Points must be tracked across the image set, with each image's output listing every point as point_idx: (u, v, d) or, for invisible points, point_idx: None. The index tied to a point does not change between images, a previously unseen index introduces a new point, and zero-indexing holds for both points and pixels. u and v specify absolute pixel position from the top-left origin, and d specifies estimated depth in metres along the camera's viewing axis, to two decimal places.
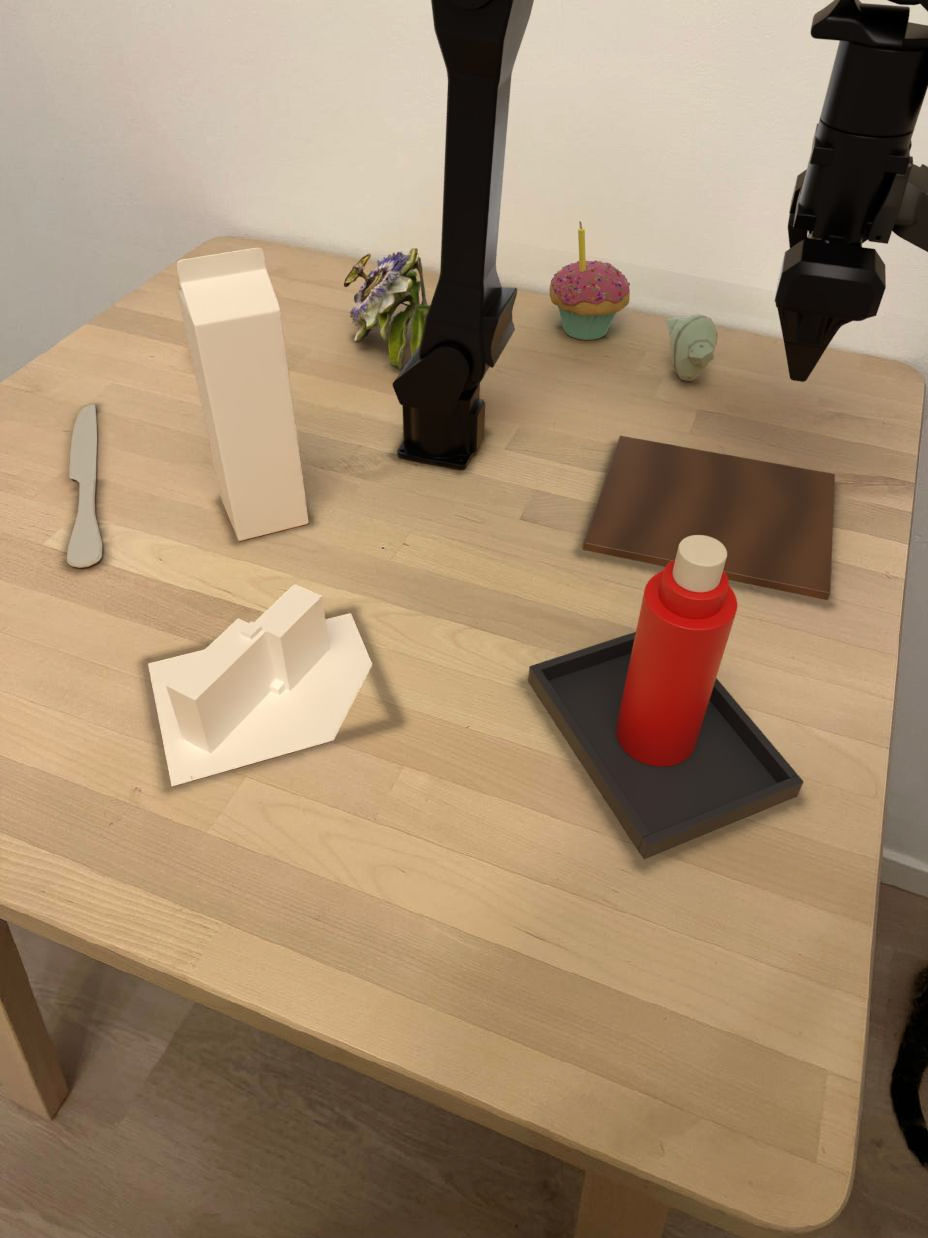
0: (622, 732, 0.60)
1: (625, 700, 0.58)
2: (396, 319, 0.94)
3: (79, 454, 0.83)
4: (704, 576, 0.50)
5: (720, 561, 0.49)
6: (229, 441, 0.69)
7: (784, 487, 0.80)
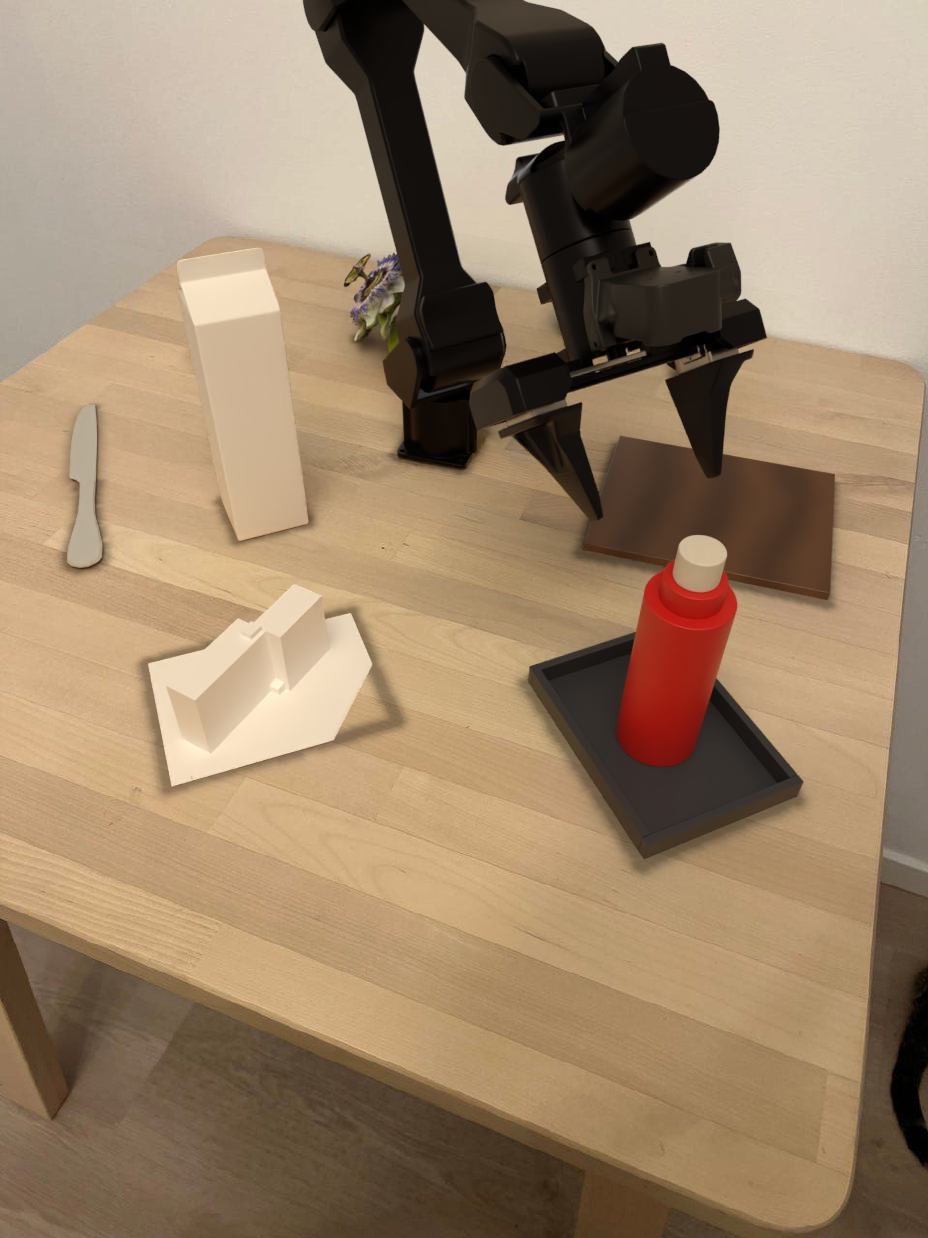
0: (622, 732, 0.60)
1: (625, 700, 0.58)
2: None
3: (79, 454, 0.83)
4: (704, 576, 0.50)
5: (720, 561, 0.49)
6: (229, 441, 0.69)
7: (784, 487, 0.80)
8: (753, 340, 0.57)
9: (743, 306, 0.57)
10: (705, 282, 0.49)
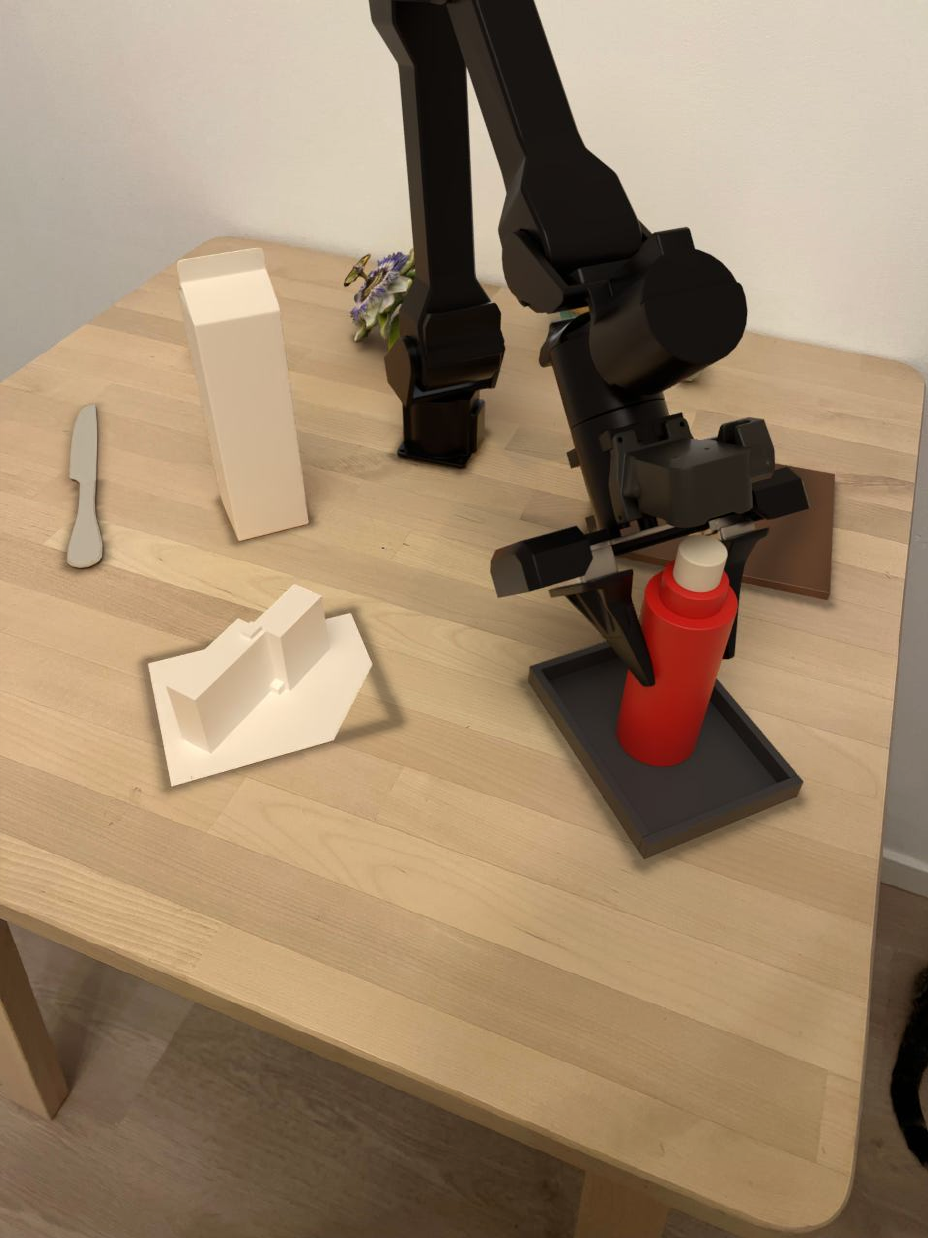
0: (622, 732, 0.60)
1: (625, 700, 0.58)
2: (396, 319, 0.94)
3: (79, 454, 0.83)
4: (704, 576, 0.50)
5: (720, 561, 0.49)
6: (229, 441, 0.69)
7: None
8: (794, 511, 0.54)
9: (784, 475, 0.55)
10: (732, 463, 0.47)
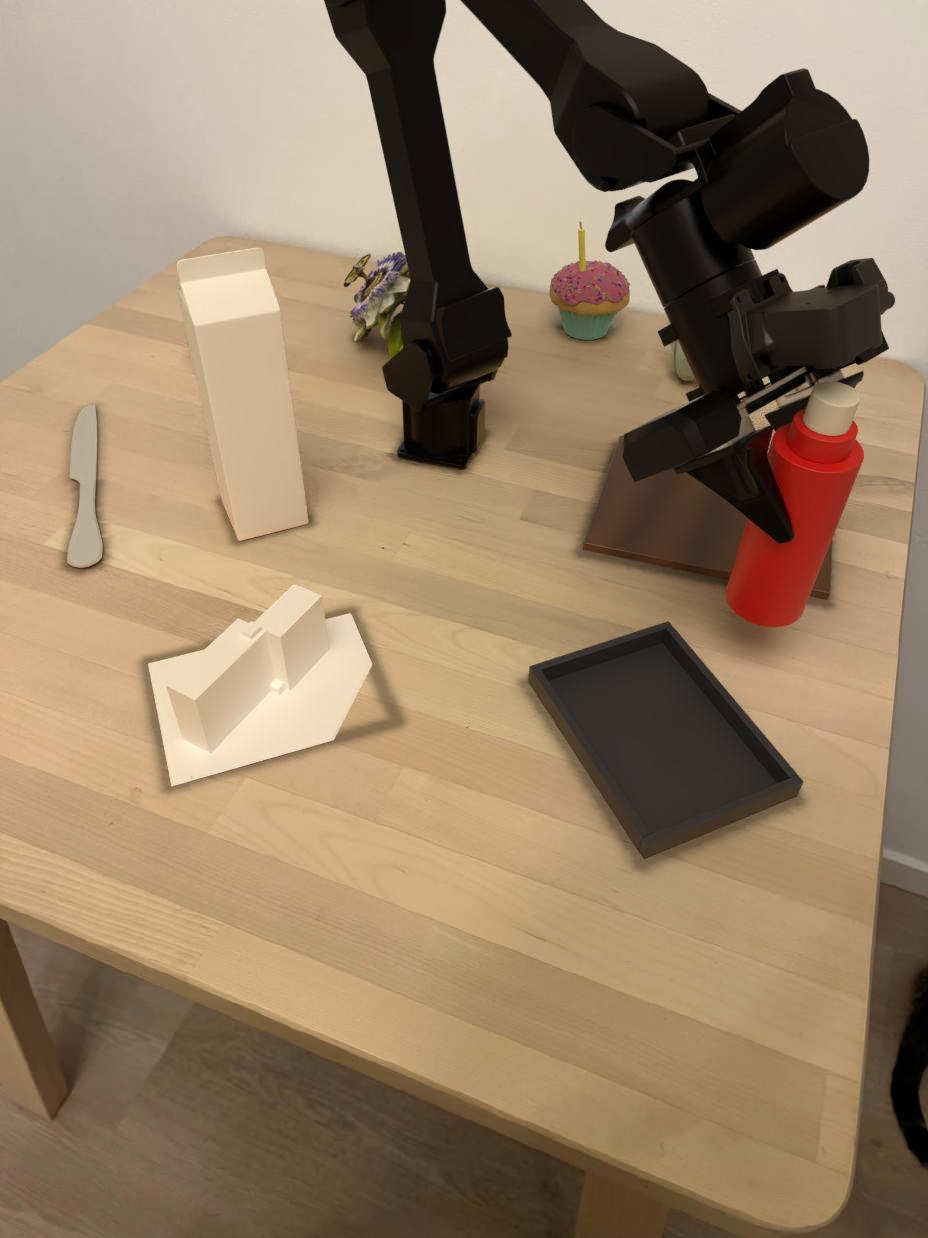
0: (741, 602, 0.61)
1: (746, 567, 0.59)
2: (396, 319, 0.94)
3: (79, 454, 0.83)
4: (845, 417, 0.51)
5: (858, 400, 0.51)
6: (229, 441, 0.69)
7: None
8: (879, 352, 0.57)
9: None
10: (870, 298, 0.49)
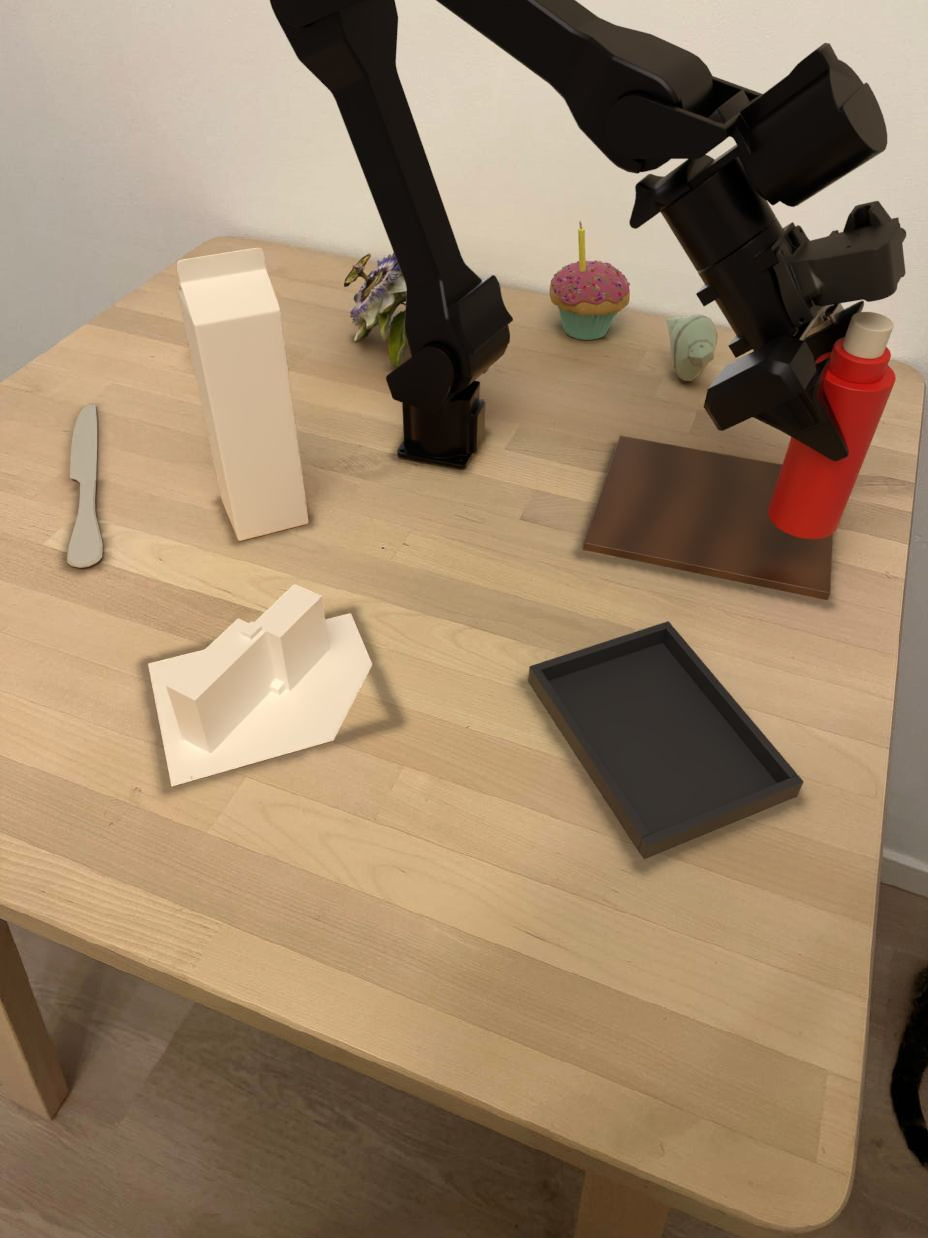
0: (793, 522, 0.68)
1: (798, 489, 0.67)
2: (396, 319, 0.94)
3: (79, 454, 0.83)
4: (885, 340, 0.59)
5: (892, 323, 0.59)
6: (229, 441, 0.69)
7: None
8: None
9: None
10: (898, 234, 0.56)
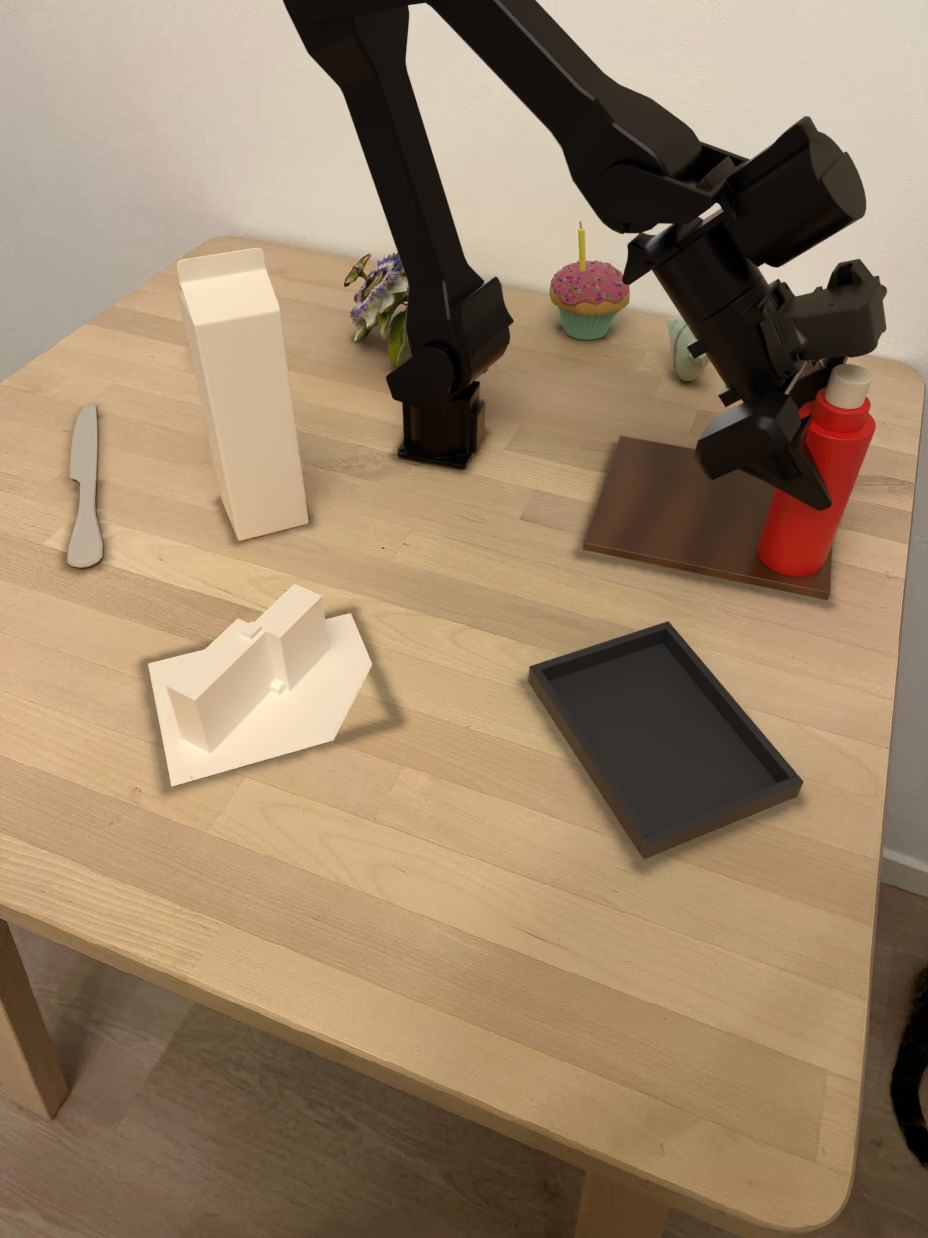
0: (781, 561, 0.71)
1: (785, 531, 0.69)
2: (396, 319, 0.94)
3: (80, 454, 0.83)
4: (864, 391, 0.62)
5: (871, 375, 0.62)
6: (229, 441, 0.69)
7: None
8: None
9: None
10: (878, 293, 0.59)
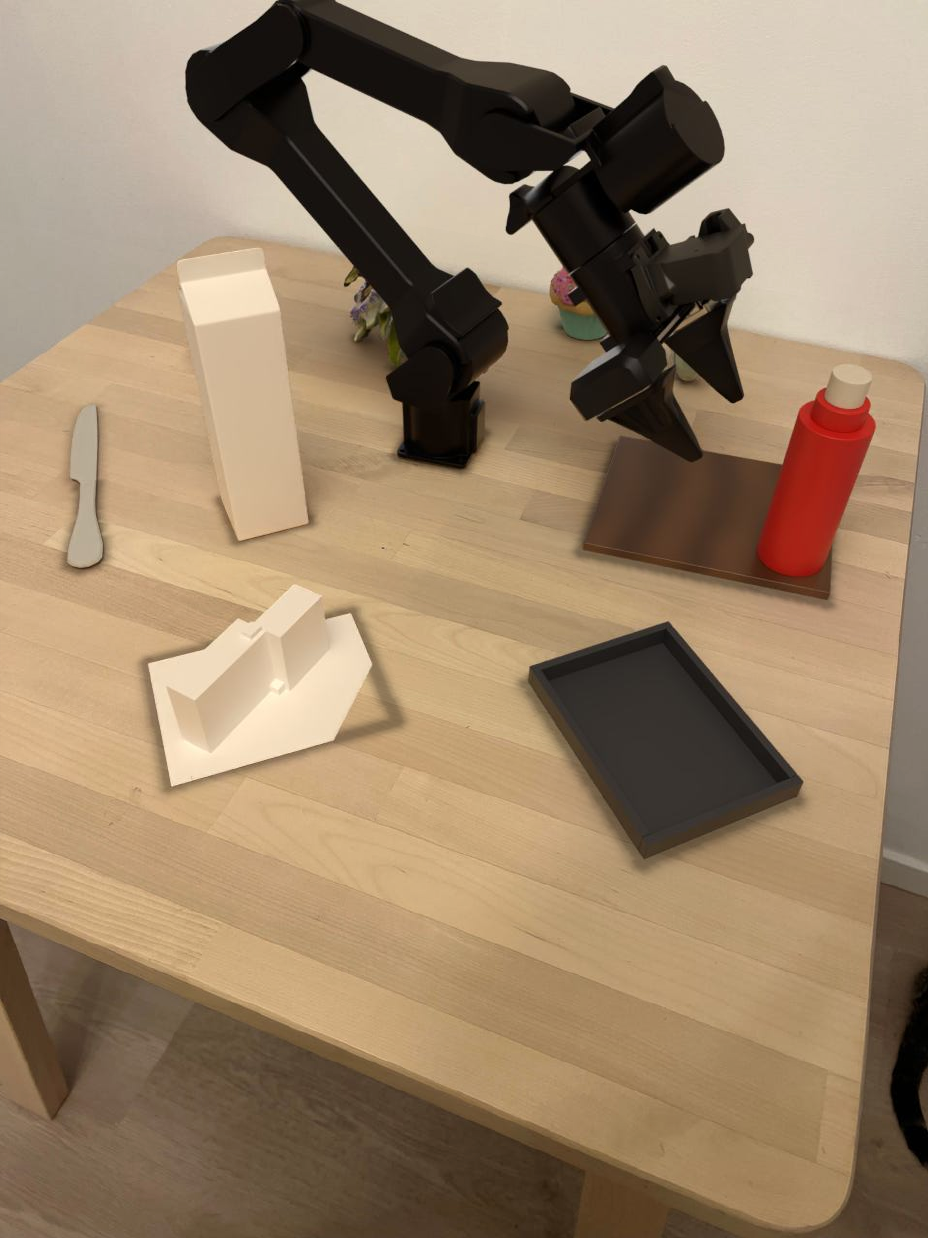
0: (781, 561, 0.71)
1: (785, 531, 0.69)
2: None
3: (80, 454, 0.83)
4: (864, 392, 0.62)
5: (871, 376, 0.62)
6: (229, 441, 0.69)
7: None
8: None
9: None
10: (741, 239, 0.61)
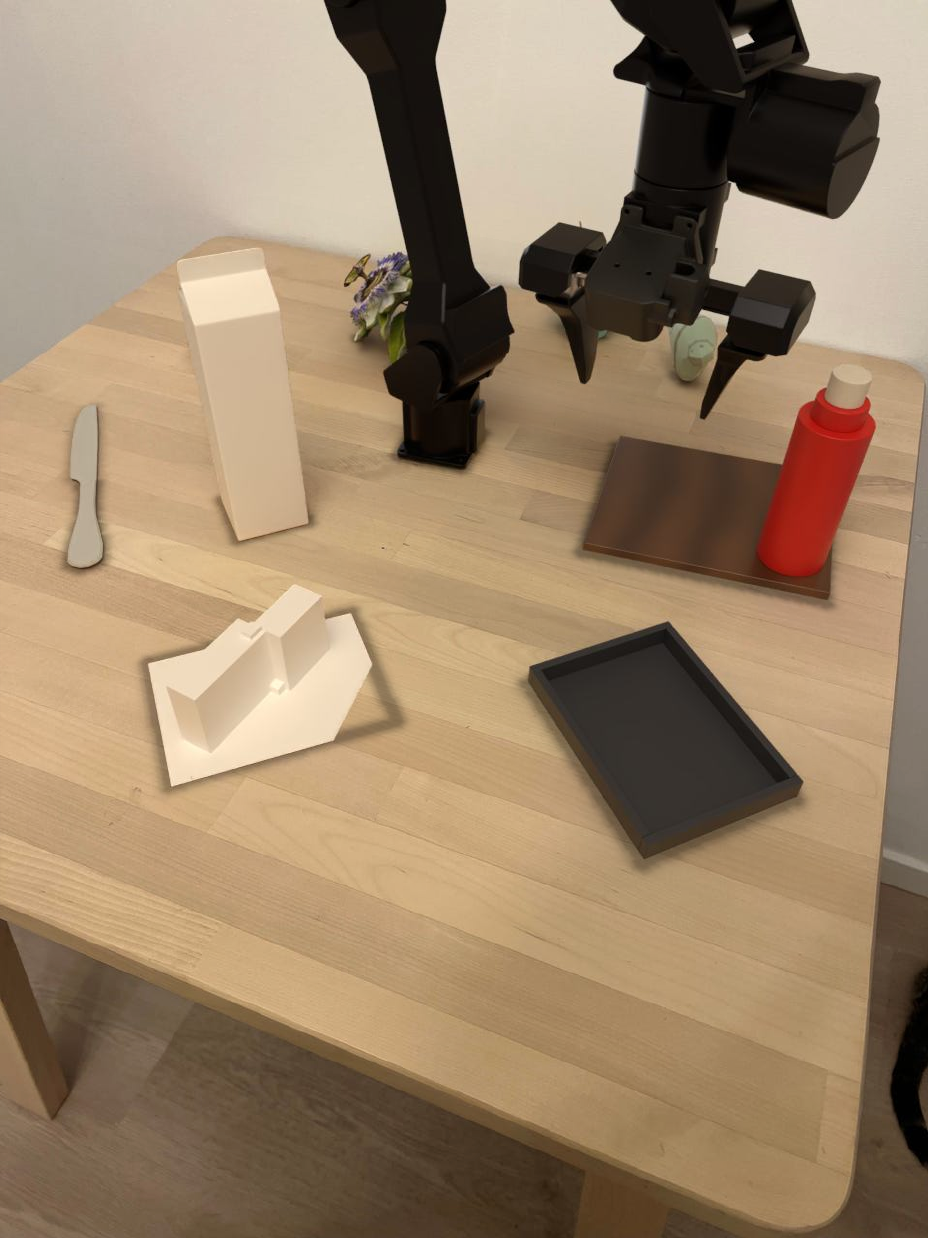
0: (781, 561, 0.71)
1: (785, 531, 0.69)
2: (396, 319, 0.94)
3: (80, 454, 0.83)
4: (864, 392, 0.62)
5: (871, 376, 0.62)
6: (229, 441, 0.69)
7: None
8: (758, 350, 0.58)
9: (774, 316, 0.56)
10: (628, 305, 0.54)
